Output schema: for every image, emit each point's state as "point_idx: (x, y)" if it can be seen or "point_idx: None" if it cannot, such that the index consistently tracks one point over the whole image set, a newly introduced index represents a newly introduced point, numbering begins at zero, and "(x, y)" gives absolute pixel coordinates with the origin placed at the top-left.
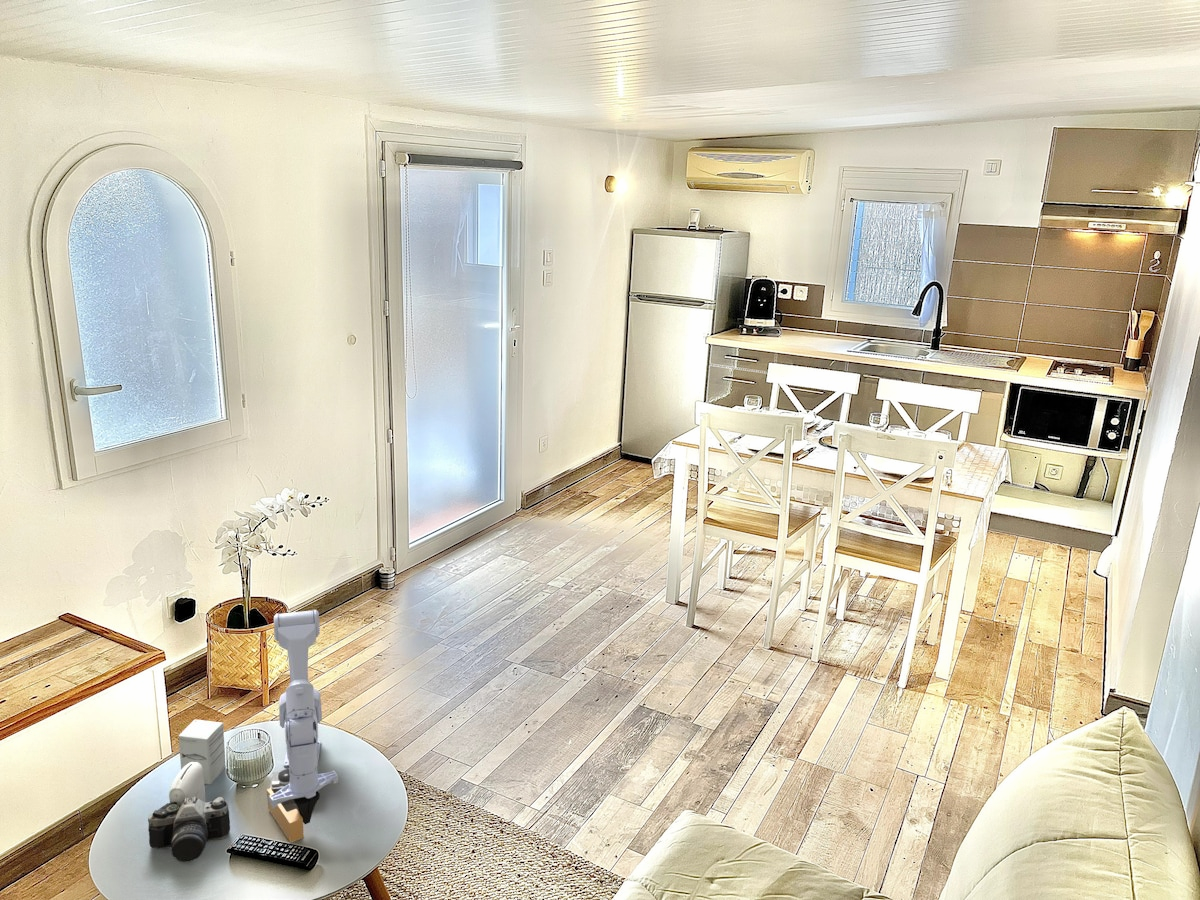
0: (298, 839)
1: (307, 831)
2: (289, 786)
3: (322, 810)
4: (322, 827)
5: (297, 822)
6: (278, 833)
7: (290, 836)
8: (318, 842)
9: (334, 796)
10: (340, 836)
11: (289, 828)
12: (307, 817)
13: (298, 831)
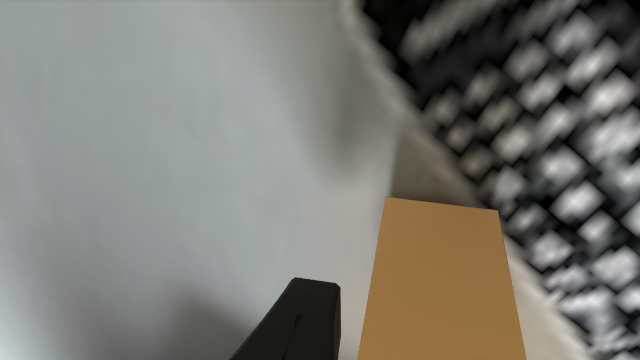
0: (429, 203)
1: (328, 233)
2: None
3: (194, 305)
4: (230, 203)
5: (428, 351)
6: None
7: (505, 255)
8: (305, 87)
9: (121, 335)
10: (132, 38)
11: (513, 334)
12: (298, 336)
13: (423, 257)
